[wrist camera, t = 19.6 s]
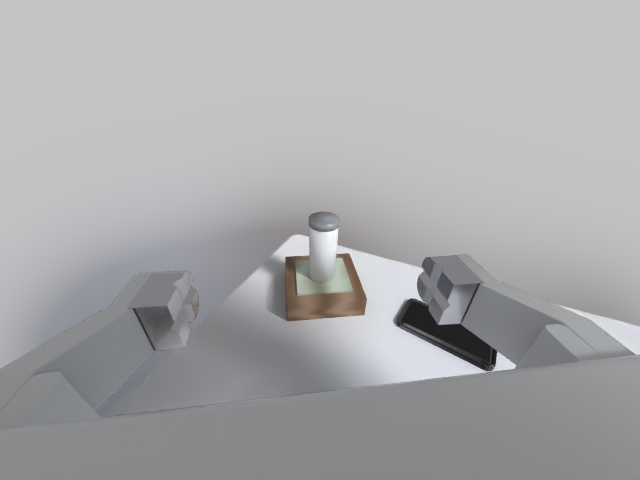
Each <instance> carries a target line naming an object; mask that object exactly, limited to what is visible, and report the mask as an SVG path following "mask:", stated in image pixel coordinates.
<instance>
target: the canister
mask: <svg viewBox="0 0 640 480" xmlns="http://www.w3.org/2000/svg"><path fill="white" fill-rule="evenodd" d="M338 227H339V217H338V216H337V215H336V214H333V213H330V212H317V213H314V214H311V215H310V216H309V276H310V278H311V279H312V280H314V281H316V282H321V283H324V282H329V281H331V280H332V279H333V278H334V277H335V266H336V252H337V237H338Z"/></svg>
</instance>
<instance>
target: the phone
mask: <svg viewBox="0 0 640 480" xmlns="http://www.w3.org/2000/svg"><path fill="white" fill-rule="evenodd" d="M429 306H430V305H428V304H426V303H423V302H421V301H419V300H417V299H409V300H408V302H407V304H406V306H405V307H404V309H403V311H402V313H401V314H400V316H399V318H398V321H397V325H398V326H399V327H400V328H401V329H403V330H405V331H407V332H409V333H411V334H413V335H415V336H417V337H419V338H421V339H423V340H425V341H427V342H429V343H431V344H433V345H435V346H437V347H439V348H441V349H443V350H445V351H447V352H449V353H451V354H453V355H455V356H457V357H459V358H461V359H463V360H465V361H467V362H469V363H471V364H473V365H475V366H477V367H479V368H481V369H483V370H486V371H492V370H493V369H494V367H495V364H496V356H497V350H495V349H494V348H492V347H491V346H490V345H488V344H487V343H486V342H484V341H483V340H482V339H480V338H479V337H477V336H476V335H475V334H473V333H472V332H471V331H469V330H468V329H467V328H465V327H464V326H462V325H461V324H462V323H461V324H445V325H438V324H437V322H436V321H435V319H434V318H433V316H432V315H431V313H430V311H429Z"/></svg>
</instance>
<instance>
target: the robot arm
mask: <svg viewBox="0 0 640 480" xmlns="http://www.w3.org/2000/svg"><path fill="white" fill-rule="evenodd" d="M422 268H423V270H424V271H423V272H422V273H421V274H420V275H419V277H418V281H417V289H418V293H419V296H420V297H421V299H422V301H424V302H425V303H427V304H429V305H430V306H429V311H430V313H431V315H432V316H433V318H434V319H435V321H436V322H437V324H438V325H445V324H461V323H462V324H461V325H462V326H464V327H465V328H467V329H468V330H469V331H471V332H472V333H473V334H475V335H476V336H477V337H479V338H480V339H482V340H483V341H484V342H486V343H487V344H488V345H490V346H491V347H492V348H494V349H495V350H497V351H498V352H499V353H501V354H502V355H503V356H505V357H506V358H507V359H509V360H510V361H512V362H513V363H514V364H516V365H517V366H516V367H515V369H511V370H503V371H494V372H486V373H477V374H469V375H460V376H452V377H443V378H435V379H426V380H418V381H409V382H401V383H392V384H384V385H375V386H367V387H358V388H350V389H341V390H333V391H324V392H316V393H307V394H298V395H290V396H281V397H273V398H264V399H255V400H247V401H238V402H230V403H221V404H213V405H204V406H196V407H187V408H178V409H170V410H161V411H153V412H144V413H136V414H127V415H119V416H110V417H100V416H99V415H98V414H97V413H96V411H97V410H98V409H99V408H100V406H102V405H103V404H104V403H105V402H106V401H107V400H108V399H109V398H110V397H111V396H112V395H113V394H114V393H115V392H116V391H117V390H118V389H119V388H120V387H121V386H122V385H123V384H124V383H125V382H126V381H127V380H128V379H129V378H130V377H131V376H132V375H133V374H134V373H135V372H136V371H137V370H138V369H139V368H140V367H141V366H142V365H143V364H144V363H145V362H146V361H147V360H148V359H149V358H150V357H151V356H152V355H153V354H154V353H155V351H162V350H171V349H179V348H185V346H186V343H187V340H188V338H189V335H190V332H191V327H190V323H191V322H192V321H193V320H195V319H196V316H197V313H198V307H199V299H198V294H197V291H196V290H195V289H194V288H192V287H191V285H192V282H193V278H192V275H191V273H190V272H189V271H166V272H146V273H137V274H135V275H134V276H133V277H132V278H131V280H130V281H129V282H128V284H127V285H126V286H125V287H124V289H123V290H122V291H121V292H120V294H119V295H118V296H117V298H116V299H115V300H114V301H113V303H112V304H111V305H110V307H109V308H108V309H107V310H106V311H99V312H98V313H96V314H94V315H93V316H91V317H89V318H87V319H86V320H84V321H82V322H81V323H79V324H77V325H75V326H74V327H72V328H70V329H69V330H67V331H65V332H63V333H62V334H60V335H58V336H56V337H55V338H53V339H52V340H50V341H48V342H46V343H45V344H43V345H41V346H40V347H38V348H36V349H34V350H33V351H31V352H29V353H27V354H26V355H24V356H22V357H20V358H19V359H17V360H15V361H13V362H12V363H10V364H8V365H7V366H5V367H3V368H2V369H0V480H640V355H635V354H634V353H633V352H631V351H630V350H629V349H628V348H626V347H625V346H624V345H622V344H621V343H620V342H619V341H617V340H616V339H615V338H613V337H612V336H611V335H609V334H608V333H607V332H606V331H604V330H603V329H602V328H600V327H599V326H598V325H596V324H595V323H594V322H593V321H591V320H590V319H587V318H585V317H583V316H580V315H578V314H576V313H573V312H571V311H569V310H566V309H564V308H562V307H560V306H557V305H555V304H553V303H550V302H548V301H546V300H543V299H541V298H539V297H536V296H534V295H532V294H529V293H527V292H525V291H523V290H520V289H518V288H516V287H513V286H511V285H509V284H506V283H504V282H498V281H497V280H496V279H495V278H494V277H492V276H491V275H490V274H489V273H488V272H487V271H486V270H485V269H484V268H483V267H482V266H480V265H479V264H478V263H477V262H476V261H475V260H474V259H473V258H472V257H471V256H469V255H466V254H462V255H452V256H439V257H426V258H425V259H424V261H423V263H422Z"/></svg>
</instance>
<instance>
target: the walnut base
mask: <svg viewBox="0 0 640 480" xmlns="http://www.w3.org/2000/svg"><path fill="white" fill-rule="evenodd" d="M366 301H367V298H366V295H365V293H364V290H363V288H362V285H361V283H360V280H359V277H358V275H357V272H356V270H355V267H354V264H353V262H352V259H351V257H350V254H336V266H335V277H334V278H333V279H332V280H331V281H329V282H324V283H321V282H316V281H314V280H312V279H311V278H310V276H309V256H293V257H286V310H287V321H295V320H308V319H320V318H332V317H344V316H356V315H364V313H365V307H366Z"/></svg>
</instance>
